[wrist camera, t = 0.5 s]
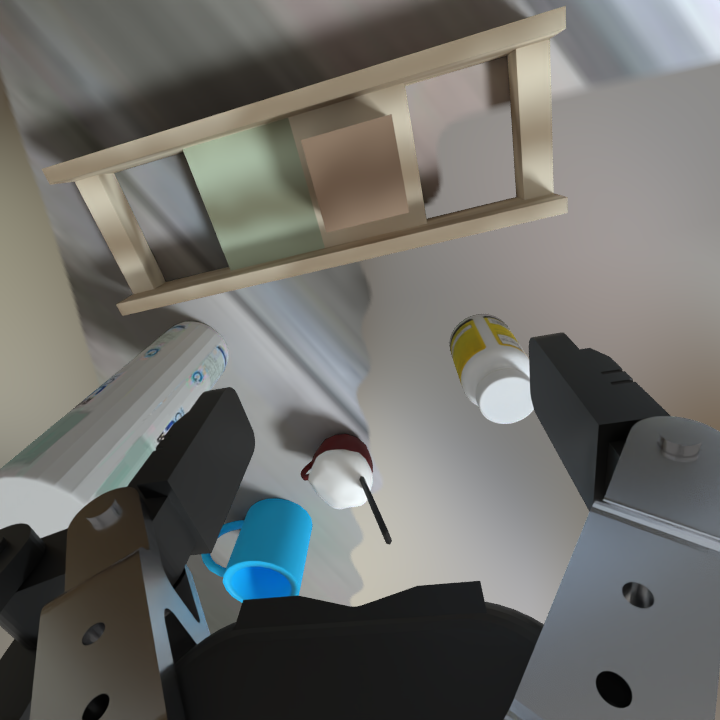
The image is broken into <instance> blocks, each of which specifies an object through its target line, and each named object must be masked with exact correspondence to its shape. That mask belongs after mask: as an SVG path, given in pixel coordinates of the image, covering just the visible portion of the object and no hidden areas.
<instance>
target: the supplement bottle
mask: <svg viewBox="0 0 720 720" xmlns="http://www.w3.org/2000/svg"><path fill="white" fill-rule="evenodd" d="M450 351H451V354H452V358H453V361H454V364H455V367H456V370H457V373H458V375H459V379H460V382H461V385H462V388H463V390H464V393H465V394H466V396H467V397H468V399H469V400H470V401H471V402H472V403H474V404H475V405H477V406H479V409H480V411H481V413H482V414H483V415H484V416H485V417H486V418H487V419H488V420H490V421H492V422H496V423H500V424H509V423H514V422H517V421H520V420H522V419H523V418H525V417H526V416H528V415H529V413H531V412H532V411H533V409H534V408H533V404H532V400H531V395H530V372H529V358H528V356H527V355H526V353H525V352H524V350H523V349H522V347H521V346H520V345H519V343H518V342H517V340H516V338H515V337H514V335H513V334H512V333H511V331H510V329H509V328H508V327H507V325H506V324H505V323H504V322H503V321H502V320H500V319H499V318H497V317H495V316H492V315H488V314H478V315H473V316H470V317H468V318H466V319H464V320H463V321H462V322H460V323H459V324H458V325H457V326H456V328H455V329H454V330H453V332H452V335H451V338H450Z"/></svg>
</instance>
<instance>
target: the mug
mask: <svg viewBox="0 0 720 720" xmlns="http://www.w3.org/2000/svg"><path fill="white" fill-rule="evenodd" d="M237 529H241V531H240V533H239V536H238V538H237V541H236V544H235V546H234V549H233V552H232V554H231V557H230V560H229V562H228V565H227V567H226V568H224V567H222V566H220V565H218V564H216V563H215V562H214V561H213V560H212V558H211V556H210V553H208V554H201V555H202V559H203V563H204V564H205V565H206V566H207V568H208V569H209V570H210V571H211V572H213V573H215V574H217V575H218V576H220V577H223V583H224V586H225V588H226V590H227V591H228V592H229V593H230V595H231V596H232V597H234V598H235V599H237V600H238V601H240V602H242V603H243V600H248V599H260V598H273V597H285V596H298V595H299V591H300V587H301V582H302V576H303V571H304V566H305V561H306V556H307V551H308V546H309V541H310V536H311V530H312V520H311V517H310V516H309V514H308V513H307V511H306V510H304V509H303V508H302V507H301V506H299V505H298V504H296V503H293V502H291V501H289V500H284V499H279V498H272V499H265V500H261V501H258V502H257V503H255V504H254V505H252V506H251V508H250V509H249V511H248V512H247V515H246V517H245V520H239V521H234V522H229V523H226V524H224V525H223V526H222V529H221V531H220V533H219V536H218V538H219V537H220V536H221V535H223V534H225V533H227V532H229V531H233V530H237Z"/></svg>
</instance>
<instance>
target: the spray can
mask: <svg viewBox="0 0 720 720" xmlns="http://www.w3.org/2000/svg"><path fill="white" fill-rule="evenodd" d="M228 358H229V352H228V348H227V345H226V343H225V341H224V339H223V338H222V337H221V336H220V335H219V333H218V332H217V331H215V330H214V329H212V328H211V327H210V326H207V325H205V324H203V323H199V322H194V321H189V322H183V323H179V324H177V325H174V326H173V327H172V328H170V329H169V330H168V331H167V332H165V333H164V334H163V335H162V336H161V337H159V338H158V339H157V340H156V341H154V342H153V343H152V344H151V345H150V346H148V347H147V348H146V349H145V350H144V351H142V352H141V353H140V354H139V355H138V356H136V357H135V358H134V359H133V360H131V361H130V362H129V363H128V364H127V365H125V366H124V367H123V368H122V369H121V370H119V371H118V372H117V373H116V374H115V375H113V376H112V377H111V378H110V379H108V380H107V381H106V382H105V383H104V384H102V385H101V386H100V387H99V388H98V389H96V390H95V391H94V392H93V393H92V394H90V395H89V396H88V397H87V398H85V399H84V400H83V401H82V402H81V403H79V404H78V405H77V406H76V407H75V408H73V409H72V410H71V411H70V412H69V413H67V414H66V415H65V416H64V417H63V418H61V419H60V420H59V421H58V422H56V423H55V424H54V425H53V426H52V427H51V428H50V429H48V430H47V431H46V432H44V433H43V434H42V435H41V436H40V437H38V438H37V439H36V440H35V441H33V442H32V443H31V444H30V445H29V446H27V447H26V448H25V449H24V450H23V451H21V452H20V453H19V454H18V455H17V456H15V457H14V458H13V459H12V460H10V461H9V462H8V463H7V464H6V465H5V466H3V467H2V468H1V469H0V529H3V528H5V527H7V526H10V525H14V524H19V523H24V524H28V525H29V526H30V527H31V528H32V529H33V530H34V531H35V533H36V534H37V535H38V536H39V537H40V538H42V537H45V536H48V535H51V534H53V533H56V532H59V531H61V530H64V529H67V528H68V527H69V524H70V523H71V521H72V519H73V518H74V517H75V515H76V514H77V513H78V512H79V511H80V510H81V509H82V508H83V507H84V506H86V505H87V504H88V503H89V502H91V501H92V500H94V499H95V498H97V497H98V496H100V495H102V494H104V493H106V492H108V491H111V490H113V489H117V488H121V487H127V486H128V484H129V483H130V482H131V480H132V479H133V478H134V476H135V475H136V474H137V472H138V471H139V470H140V468H141V467H142V466H143V464H144V463H145V461H146V460H147V459H148V457H149V456H150V455H151V453H152V452H153V451H156V447H157V445H158V444H159V443H160V441H161V440H163V439H164V436H165V435H166V433H167V432H168V431H169V429H170V428H171V427H172V425H173V424H174V423H175V422H176V421H178V420H179V419H180V418H181V417H182V416H184V415H185V414H186V413H187V412H188V411H190V409H191V408H192V406H193V405H194V404H195V402H196V401H197V399H198V398H199V397H200V395H201V394H202V393H203V392H205V391H210V390H211V389H212V387H213V386H214V384H215V383H216V382H217V380H218V379H219V377H220V376H221V374H222V373H223V372H224V370H225V368H226V366H227V363H228Z"/></svg>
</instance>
